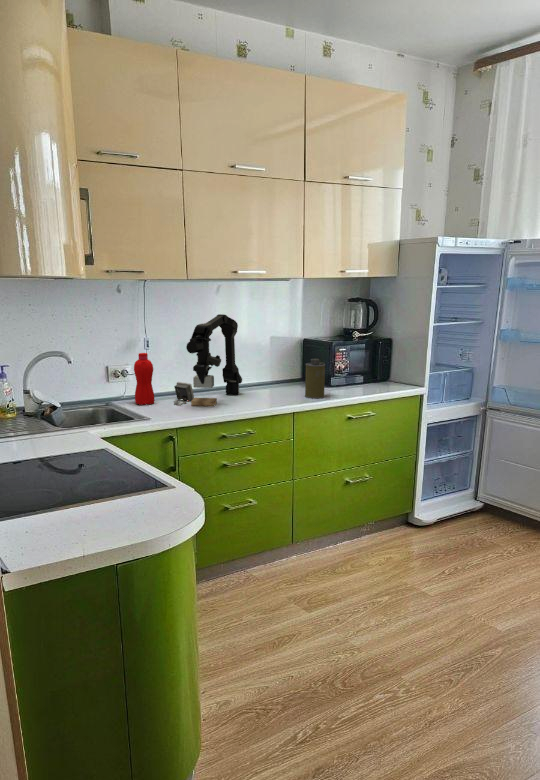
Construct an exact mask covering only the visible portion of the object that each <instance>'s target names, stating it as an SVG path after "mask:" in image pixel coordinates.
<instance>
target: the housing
mask: <svg viewBox="0 0 540 780" xmlns="http://www.w3.org/2000/svg"><path fill="white" fill-rule="evenodd" d="M192 379H193V388H195V389H196V388H197V389H198V388H199V389H213V387H215V375H213V374H208V375H205V380H204V384H201V382H200V380H199V378H198V375H197V374H196V375H194V376H193V377H192Z"/></svg>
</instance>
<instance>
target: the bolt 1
mask: <svg viewBox="0 0 540 780" xmlns="http://www.w3.org/2000/svg"><path fill="white" fill-rule="evenodd" d="M177 401H178V400H174V401H173V405H174V406H180V407H182V406H183V404H180V403H177ZM175 404H176V405H175ZM181 405H182V406H181Z"/></svg>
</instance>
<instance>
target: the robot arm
mask: <svg viewBox="0 0 540 780" xmlns="http://www.w3.org/2000/svg"><path fill="white" fill-rule="evenodd" d="M218 327H219V328H220V330H221V334H222V336H223V337H224V345H225V349H224V351H225V366H224V367H223V368H222V369H221V370H222V378H223V383H226V385H225V395H226V396H232V395H233V396H239V394H240V392H241V391H240V385H241V384H242V383H243V377H242V375H241V374H240V371H239V366H237V364H236V352H235V351H236V349H235V347H236V345H235V336H236V334H237V333H238V327H239V324H238V322H237V321H236V320H235V319H233V318H231V317H229V316H228V315H227V314H221V313H220V314H216V316H215V317H213V318H211V319H209V321H207V322H205V323H199V324H196V326H195V327H194V330H193V332H192V334H191V338H189V341H188V342H187V344H186V350H187V352H188V353H189V354H196V356H197V361H196V364H195V365H193V367H192V370H193V371H194V372H195V374H196V375H198V378H199V380H200V382H201V384H204V380H205V375H209V371H210V370H212V368H213V366H215V367H216V368H218V367H220V365H221V362H222V358H221V356H220V355H219V354H217V355H216V356H213V355H211V352H210V342H211V341H212V339H211V336H212V334H213V331H214V330H216V329H217V328H218Z"/></svg>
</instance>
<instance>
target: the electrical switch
mask: <svg viewBox="0 0 540 780" xmlns="http://www.w3.org/2000/svg"><path fill="white" fill-rule="evenodd" d="M174 391H175V395H176V399H183V400H189V401H188V402H191V401H192V400H193V399H194V398H195V394H194V389H193V386H192V384H191V383H188V382H182V381H180V382H179V381H177V382H176V385H174ZM183 400H182V401H183Z"/></svg>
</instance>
